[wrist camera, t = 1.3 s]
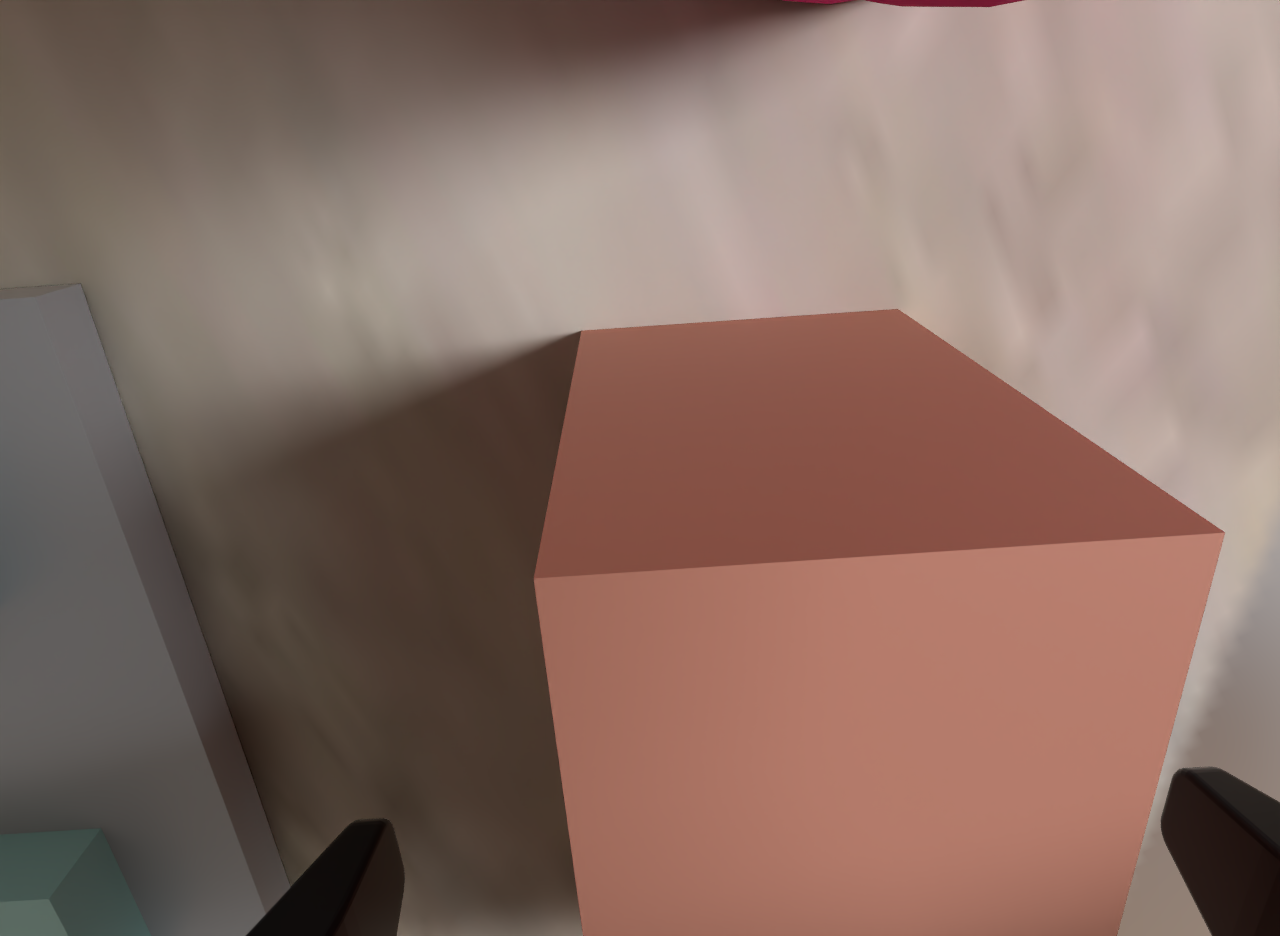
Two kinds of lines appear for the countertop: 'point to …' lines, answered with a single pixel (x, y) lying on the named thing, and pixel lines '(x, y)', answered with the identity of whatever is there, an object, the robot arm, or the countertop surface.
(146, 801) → the build plate
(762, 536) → the bar
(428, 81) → the countertop surface
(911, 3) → the pepper mill
